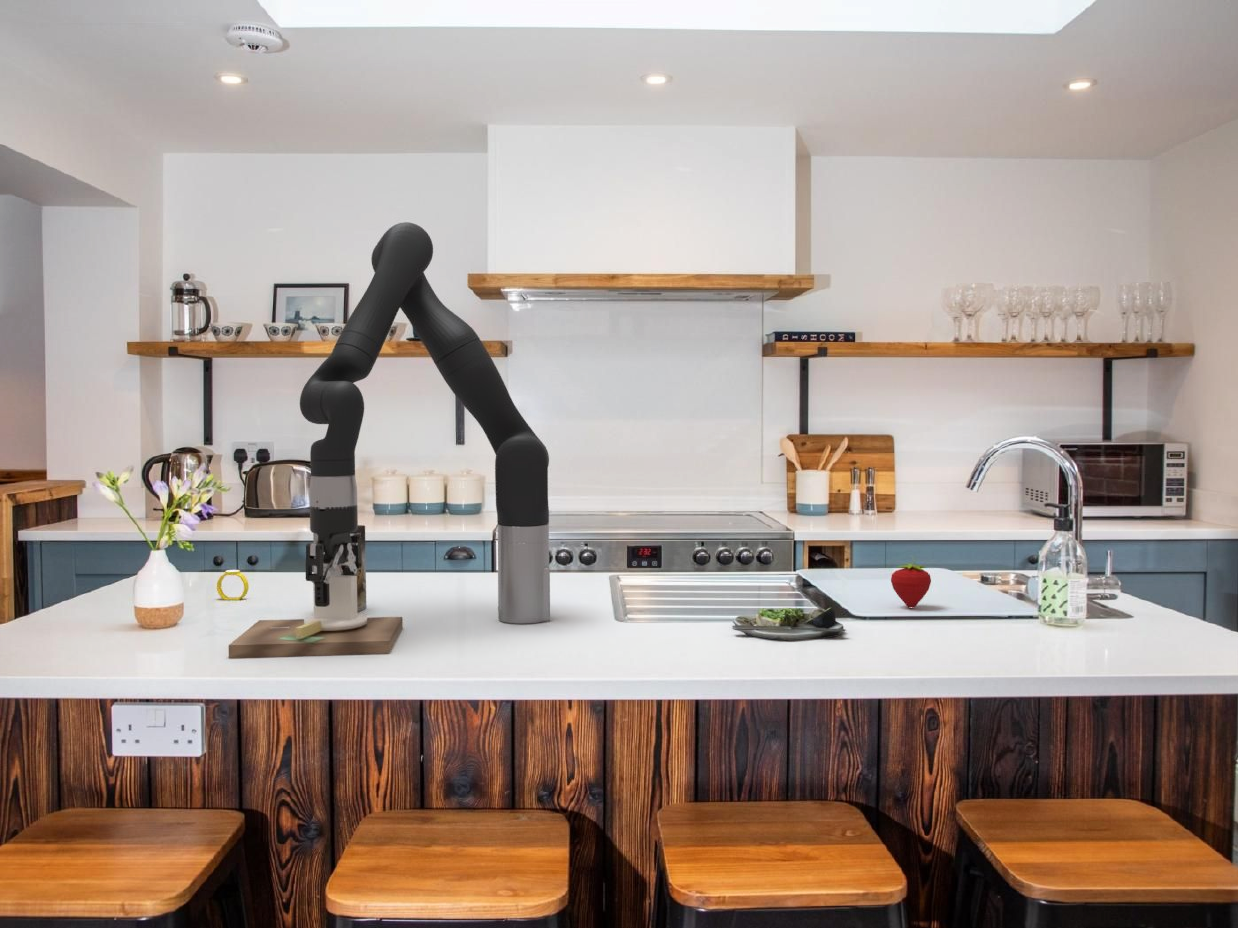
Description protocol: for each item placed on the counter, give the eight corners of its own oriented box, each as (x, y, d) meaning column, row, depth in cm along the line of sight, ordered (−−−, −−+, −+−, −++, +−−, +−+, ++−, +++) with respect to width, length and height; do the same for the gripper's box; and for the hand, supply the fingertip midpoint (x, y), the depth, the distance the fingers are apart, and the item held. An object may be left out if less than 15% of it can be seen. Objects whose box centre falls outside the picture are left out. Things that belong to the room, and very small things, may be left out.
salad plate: (754, 649, 154) (754, 620, 154) (708, 626, 171) (708, 600, 171) (860, 640, 161) (860, 612, 160) (806, 618, 178) (806, 593, 177)
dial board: (402, 628, 169) (402, 616, 169) (389, 653, 151) (389, 640, 151) (259, 631, 166) (259, 619, 166) (228, 658, 148) (228, 644, 148)
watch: (249, 599, 197) (251, 570, 197) (243, 602, 194) (245, 572, 194) (220, 597, 197) (222, 568, 197) (214, 600, 194) (215, 570, 194)
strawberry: (885, 605, 187) (886, 553, 187) (923, 604, 188) (924, 553, 187) (896, 611, 182) (897, 558, 181) (936, 610, 182) (936, 557, 182)
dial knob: (326, 616, 167) (325, 569, 166) (378, 619, 164) (377, 572, 164) (270, 636, 152) (269, 585, 152) (326, 640, 149) (325, 588, 149)
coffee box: (345, 618, 177) (343, 530, 176) (313, 616, 179) (311, 529, 178) (368, 608, 186) (366, 524, 185) (337, 607, 187) (335, 523, 187)
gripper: (334, 499, 167) (335, 592, 168) (289, 506, 154) (291, 608, 154) (374, 499, 166) (376, 594, 167) (333, 507, 152) (334, 610, 153)
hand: (335, 601), depth 161 cm, fingers open, 8 cm apart
